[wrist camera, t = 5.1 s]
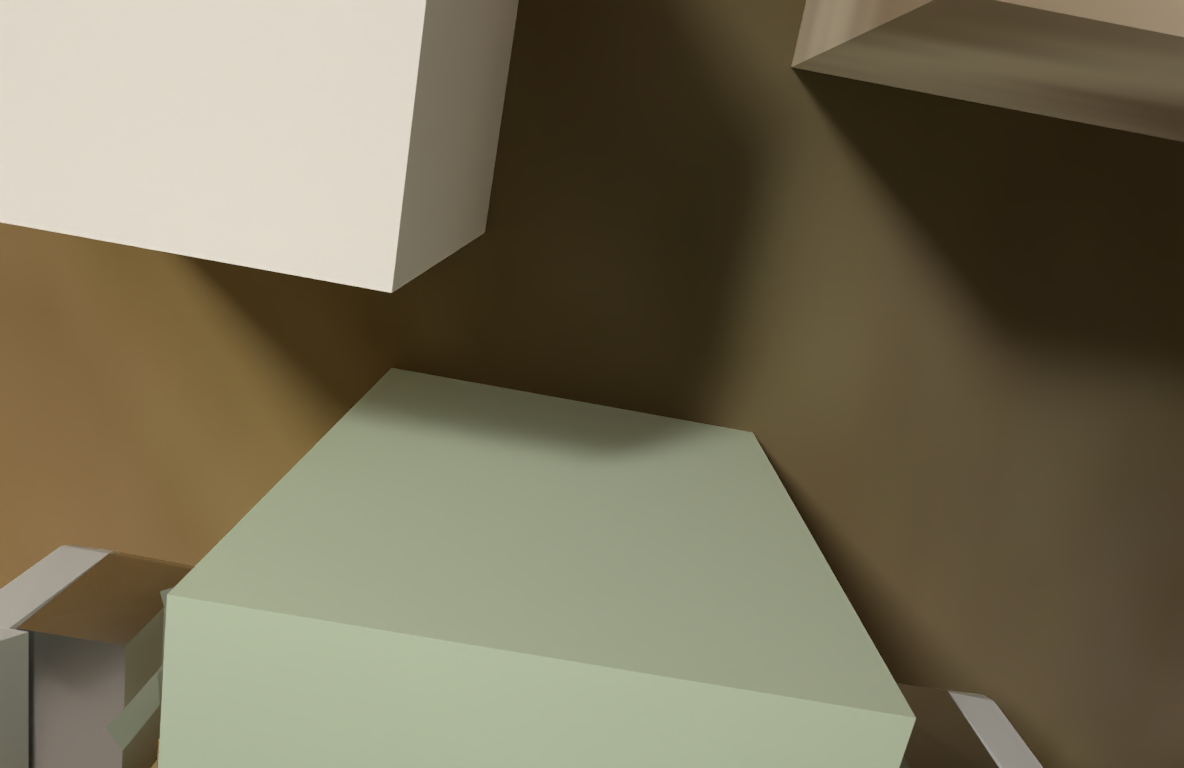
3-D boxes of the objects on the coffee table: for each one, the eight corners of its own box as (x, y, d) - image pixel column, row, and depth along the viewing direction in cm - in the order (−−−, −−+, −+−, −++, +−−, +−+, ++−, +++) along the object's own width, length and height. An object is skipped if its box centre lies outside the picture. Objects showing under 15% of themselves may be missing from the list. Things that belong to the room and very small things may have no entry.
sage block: (353, 681, 12) (139, 1139, 7) (392, 367, 11) (165, 594, 5) (677, 733, 13) (744, 1223, 7) (752, 431, 11) (916, 717, 5)
